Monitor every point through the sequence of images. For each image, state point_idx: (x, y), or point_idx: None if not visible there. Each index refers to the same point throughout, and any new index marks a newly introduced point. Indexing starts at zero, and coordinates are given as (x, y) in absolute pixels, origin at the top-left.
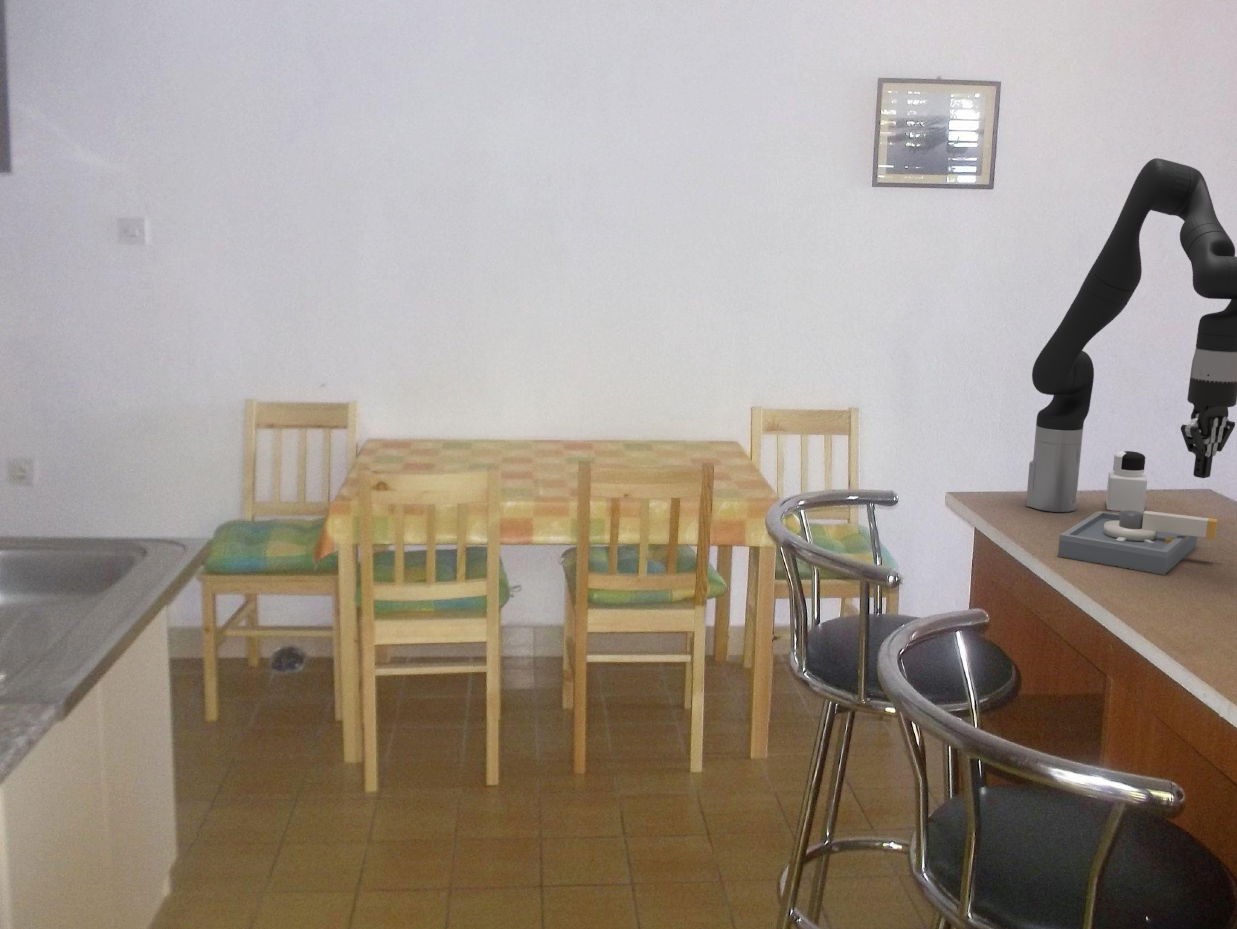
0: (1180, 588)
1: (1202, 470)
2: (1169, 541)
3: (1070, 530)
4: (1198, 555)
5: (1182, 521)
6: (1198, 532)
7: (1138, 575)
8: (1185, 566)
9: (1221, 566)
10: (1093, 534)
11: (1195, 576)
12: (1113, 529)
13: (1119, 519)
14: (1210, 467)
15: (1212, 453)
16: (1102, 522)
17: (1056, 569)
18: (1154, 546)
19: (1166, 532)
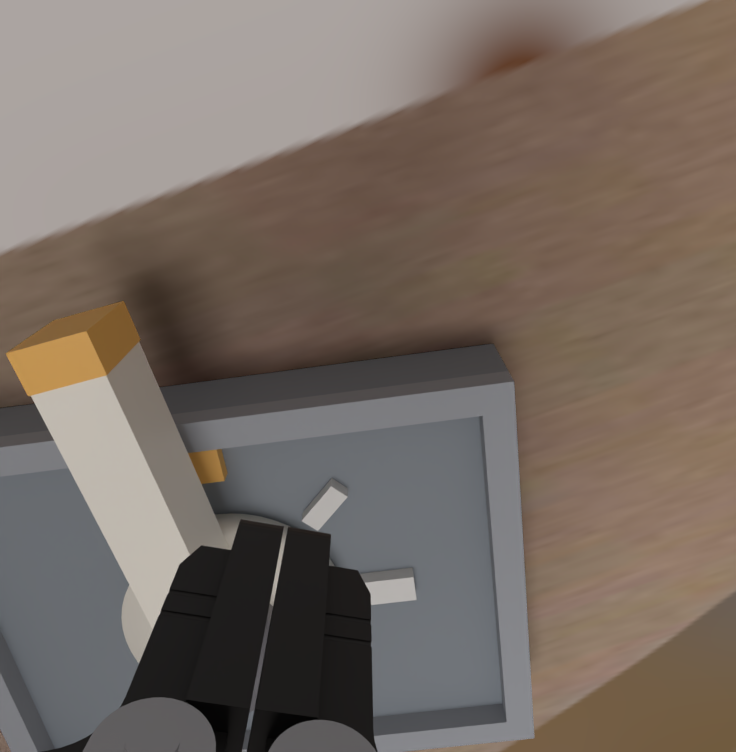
0: (655, 223)
1: (351, 606)
2: (221, 459)
3: (436, 739)
4: None
5: (164, 478)
6: (146, 382)
7: (570, 408)
8: (287, 333)
9: (154, 225)
10: None
11: (415, 247)
12: None
13: (32, 707)
14: (242, 586)
15: (207, 750)
16: None
17: (687, 612)
18: (341, 474)
19: (206, 498)
